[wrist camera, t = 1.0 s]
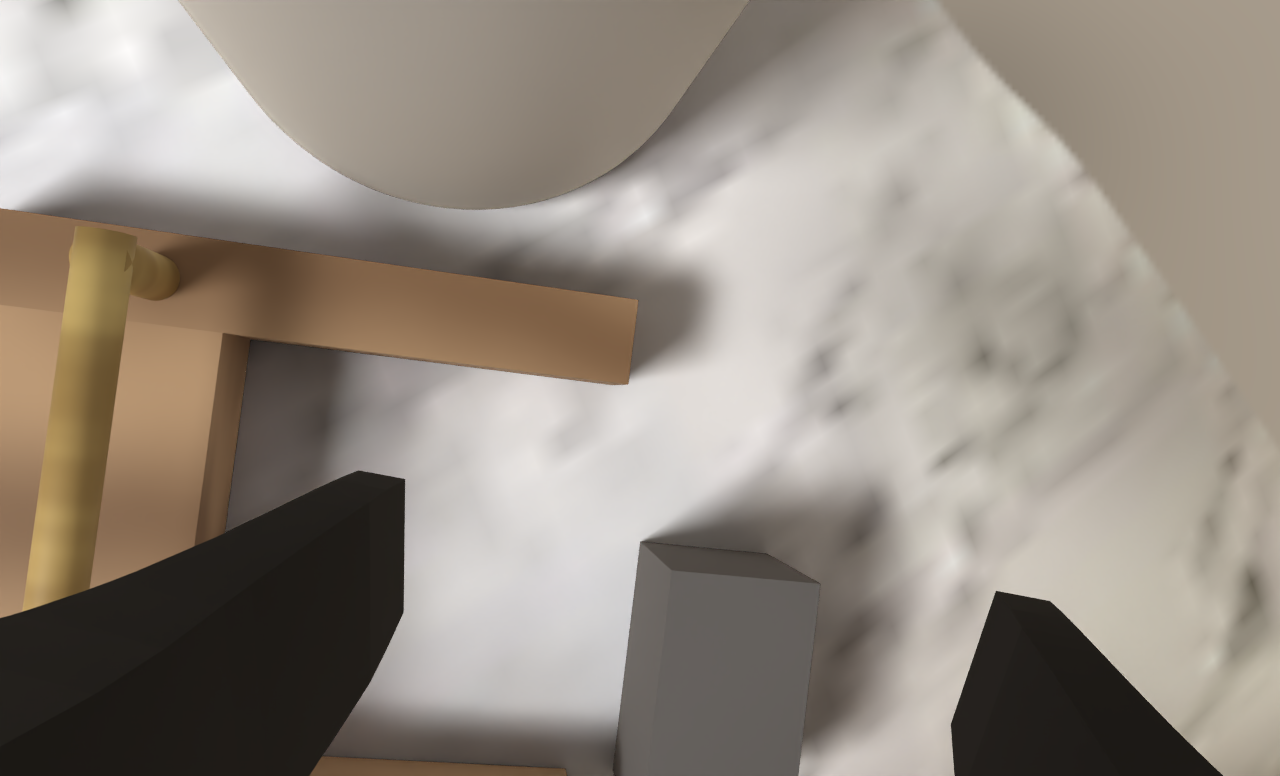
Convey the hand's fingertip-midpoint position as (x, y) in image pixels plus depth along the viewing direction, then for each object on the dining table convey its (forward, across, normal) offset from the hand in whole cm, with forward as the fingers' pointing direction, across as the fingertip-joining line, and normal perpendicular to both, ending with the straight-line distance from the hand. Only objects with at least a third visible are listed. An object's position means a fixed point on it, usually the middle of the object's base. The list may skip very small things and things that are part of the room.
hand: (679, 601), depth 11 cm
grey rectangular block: (+10, 0, +10) cm, 14 cm away
